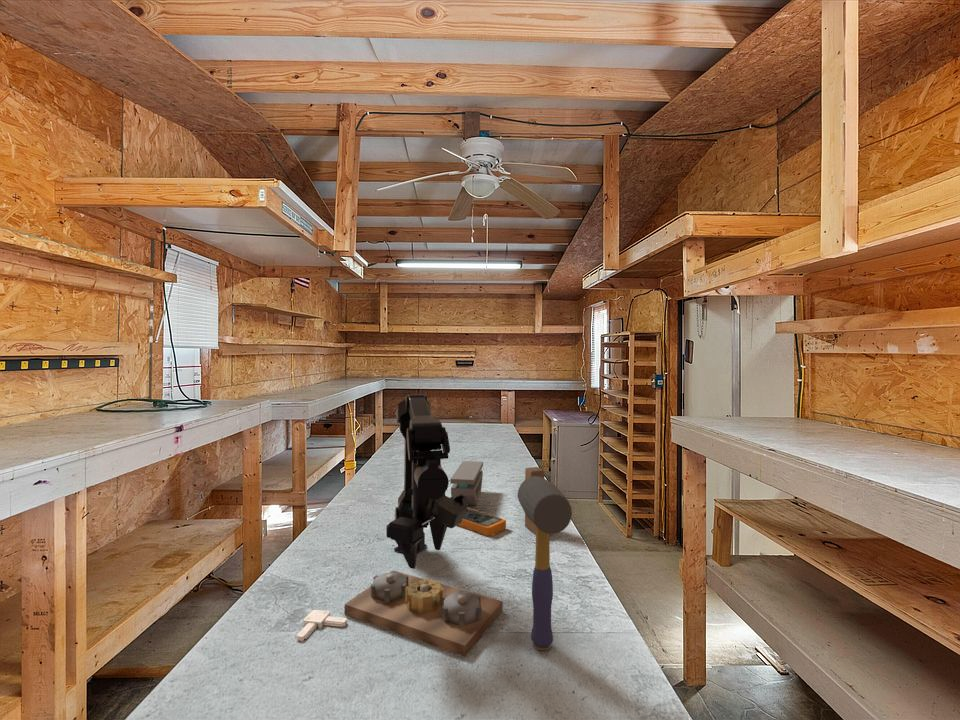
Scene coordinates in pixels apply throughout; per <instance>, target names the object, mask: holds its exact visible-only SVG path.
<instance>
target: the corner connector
mask: <svg viewBox="0 0 960 720" xmlns="http://www.w3.org/2000/svg"><path fill="white" fill-rule="evenodd" d="M302 623H303V624H302V625H303V628H302V629H301V630H300V631H299V632H298V634H296V640H298V641H299V640H300V641H299V642H303V640H304V639H305V640H306V639H308V638H309V637H310V636H311V634H313V632H314V631H315V630H316V629H317V628H319V627H320V628H319V629H322V627H323V626H328V627H329V626H330V627H331V626H332V627H337V628H340V627H341V628H342V626H344V627H346V625H347V623H348V618H346V617H339V616H331V611H329V610H321V609H319V610H318V609H313V610H311V611H310V613H309V614H308V615H307V616H305V618H304V619H303V621H302ZM305 640H304V641H305Z"/></svg>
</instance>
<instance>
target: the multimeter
mask: <svg viewBox="0 0 960 720" xmlns="http://www.w3.org/2000/svg"><path fill="white" fill-rule="evenodd" d="M467 509H468V512H467V513H465V514H464V516H463V519H462V522H461V523H459V524H457V525H456V526H458V525H459V526H458V527H461V526H462V527H461V528H465V529H466V530H469V529H470V530H469V531H472V532H474V533H478V534H480V535H482V536H485V537H492V535H493V536H494V535H497V534H499V533H501V532H504V531H505V530H506V528H507V520H506V519H504V518H501V517H497V516H494V515H491V514H488V513H485V512H481V511H479V510H475V509H472V508H470V507H467Z"/></svg>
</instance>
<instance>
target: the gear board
mask: <svg viewBox="0 0 960 720" xmlns="http://www.w3.org/2000/svg"><path fill="white" fill-rule="evenodd" d="M425 579H426V578H421V577H418V576H414V575H410V574H408V573H404V572H400V571H397V570H391V571H390V572H385V573H381V574H378V575H373V581H372V583H371V584H370V586H368V587H367V588H366V589H365V590H363V591H362V592H360V593H359V594H357V595H356V596H354V597H353V598H351V599H350V600H349V601H347V602H346V603H344V615H347V616H349V617H352V618H354V619H358V620H360V619H361V620H360V621H363V622H366V623H370V624H371V623H372V624H371V625H374V624H375V626H378V627H380V628H383V629H385V628H386V630H388V629H389V631H391V632H394V633H397V634H399V635H403V636H405V637H408V638H410V637H411V639H414V640H416V641H419V642H421V643H425V644H428V645H430V646H433V647H436V648H439V649H442V650H443V651H447V652H449V653H453V654H455V655H458V656H460V657H463V658H465V657H467V655H468V654H469V653H470V651H471V650H472V649H473V648H474V647H475V645H476V644H477V643H478V641H479V640H480V639H481V638H482V637H483V635H484V634H485V633H486V632H487V631H488V629H490V627H491V626H492V624H493V623H494V622H495V621H496V620H497V618H498V617H499V616H500V615H501V613H502V612H503V611H504V610H503V609H504V608H503V602H504V601H503V600H499V599H496V598H492V597H489V596H485V595H483V594H478V593H474V592H471V591H467V590H464V589H460V588H458V587H453V586H450V585H446V584H443V583H441V587H442V588H443V605H440V606H439V607H438V608H437V610H436V611H434V612H433V611H429V612H423V614H421V613H418V612H416V611H413V610H410V611H409V610H408V609H407V603H405V588H406V586H409V585H410V584H412V582H413V581H415V580H417V581H419V580H425ZM420 592H428V584H422V585H421V586H420Z"/></svg>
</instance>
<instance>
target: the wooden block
mask: <svg viewBox="0 0 960 720" xmlns="http://www.w3.org/2000/svg"><path fill="white" fill-rule="evenodd" d="M524 471H525V473H524V474H525V476H524V477H525V479H524V480H526V479H527V478H529V477H533V476H538V477H542V478H544V479H545V470H544V469H542V468H541V467H538V466H535V467H525V470H524ZM524 527H525V528H526V529H528V531H530V532H531V533H532V534H534V536H536V525H535V524H534V523H533V522H532V521H531V520H530V519H529V518H528V517H527V516H526V514H525V513H524ZM551 535H552V534H550V536H551Z"/></svg>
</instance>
